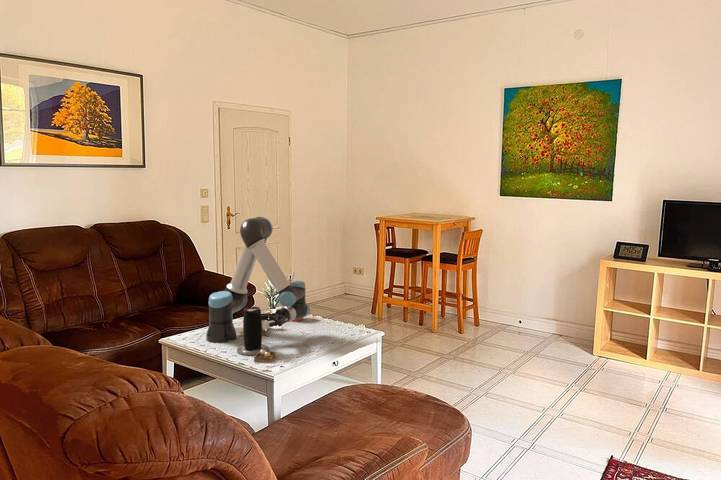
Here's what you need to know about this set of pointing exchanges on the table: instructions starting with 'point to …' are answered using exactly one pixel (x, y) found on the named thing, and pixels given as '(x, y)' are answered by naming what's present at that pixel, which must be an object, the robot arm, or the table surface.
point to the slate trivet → (245, 352)
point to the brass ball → (267, 354)
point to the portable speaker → (252, 328)
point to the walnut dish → (264, 359)
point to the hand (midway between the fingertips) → (253, 323)
